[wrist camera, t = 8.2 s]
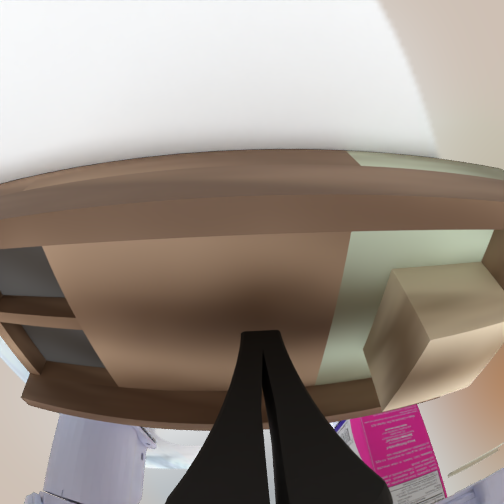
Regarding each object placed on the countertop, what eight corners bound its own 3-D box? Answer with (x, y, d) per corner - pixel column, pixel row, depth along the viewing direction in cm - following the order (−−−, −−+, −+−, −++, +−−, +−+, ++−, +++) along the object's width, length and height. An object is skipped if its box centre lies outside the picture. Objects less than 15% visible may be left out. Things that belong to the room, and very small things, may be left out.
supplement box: (388, 419, 24) (413, 521, 15) (332, 428, 24) (351, 540, 14) (416, 390, 21) (452, 508, 12) (354, 401, 20) (383, 536, 11)
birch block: (443, 335, 14) (468, 386, 11) (362, 349, 14) (382, 411, 11) (480, 261, 11) (521, 315, 8) (391, 268, 11) (430, 340, 8)
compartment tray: (421, 354, 17) (439, 397, 14) (43, 364, 17) (29, 405, 14) (501, 168, 10) (552, 207, 7) (-49, 198, 9) (-90, 237, 6)
